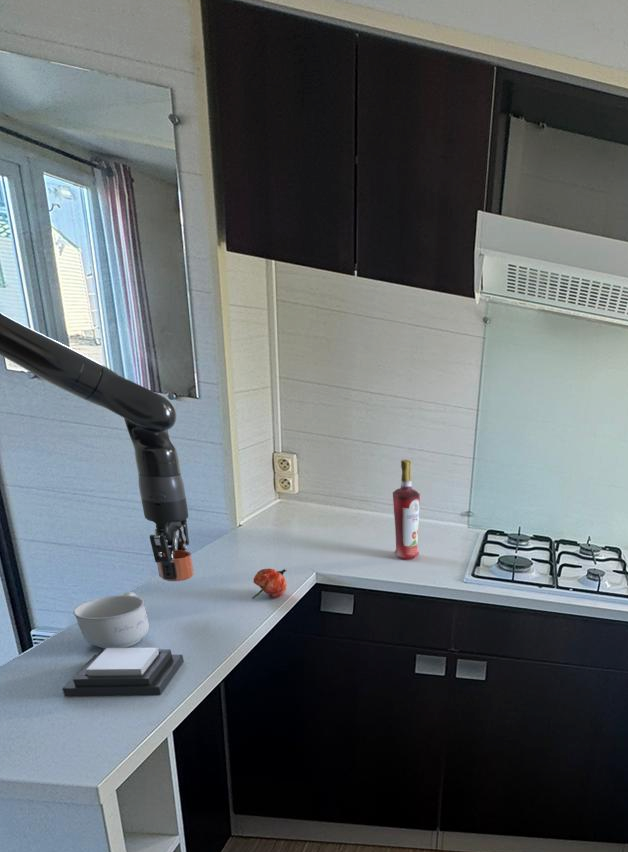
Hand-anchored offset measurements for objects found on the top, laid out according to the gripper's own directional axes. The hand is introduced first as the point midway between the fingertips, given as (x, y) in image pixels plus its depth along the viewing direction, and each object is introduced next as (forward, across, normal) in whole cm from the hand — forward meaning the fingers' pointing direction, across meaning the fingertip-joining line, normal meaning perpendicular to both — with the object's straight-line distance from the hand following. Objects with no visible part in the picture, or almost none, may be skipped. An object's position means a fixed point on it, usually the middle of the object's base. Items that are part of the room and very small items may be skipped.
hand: (176, 572), depth 133 cm
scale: (+9, +30, 0) cm, 31 cm away
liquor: (+8, -40, +46) cm, 62 cm away
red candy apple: (+9, -8, +16) cm, 20 cm away
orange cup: (+1, 0, 0) cm, 1 cm away
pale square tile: (+6, +30, 0) cm, 31 cm away
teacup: (+9, +14, -6) cm, 18 cm away
